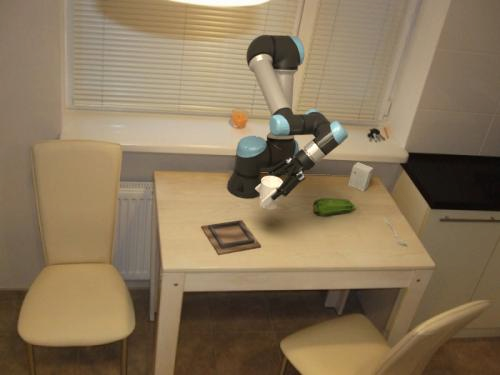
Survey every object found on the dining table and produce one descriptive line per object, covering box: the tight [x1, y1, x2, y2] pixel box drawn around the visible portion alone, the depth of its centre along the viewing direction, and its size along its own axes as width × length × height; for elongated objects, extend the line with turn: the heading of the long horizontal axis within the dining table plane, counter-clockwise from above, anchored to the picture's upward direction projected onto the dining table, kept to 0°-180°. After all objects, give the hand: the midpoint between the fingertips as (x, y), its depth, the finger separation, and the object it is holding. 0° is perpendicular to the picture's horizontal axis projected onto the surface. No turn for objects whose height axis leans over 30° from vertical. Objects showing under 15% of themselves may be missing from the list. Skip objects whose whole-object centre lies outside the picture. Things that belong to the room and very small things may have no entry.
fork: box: [383, 216, 408, 246], centre depth 223 cm, size 3×24×2 cm, turn 9°
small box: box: [347, 161, 374, 193], centre depth 248 cm, size 8×6×10 cm
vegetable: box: [312, 197, 357, 216], centre depth 226 cm, size 7×7×20 cm
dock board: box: [200, 219, 262, 256], centre depth 201 cm, size 17×17×2 cm
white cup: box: [259, 175, 284, 210], centre depth 197 cm, size 8×8×10 cm
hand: (260, 196), depth 197 cm, fingers closed on white cup, 8 cm apart
